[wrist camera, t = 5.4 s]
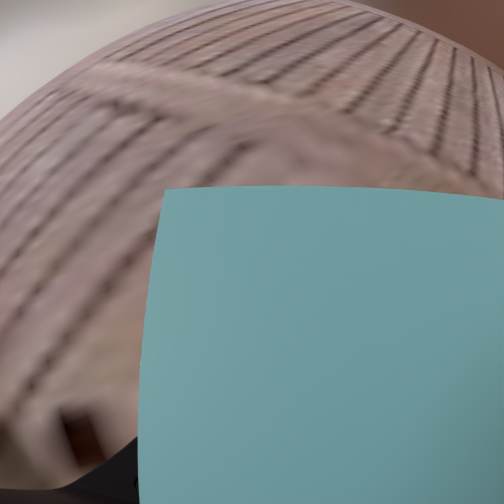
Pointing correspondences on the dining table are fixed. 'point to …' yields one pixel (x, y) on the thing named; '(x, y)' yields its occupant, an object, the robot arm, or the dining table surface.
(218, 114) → the dining table surface
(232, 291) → the tall teal pillar
